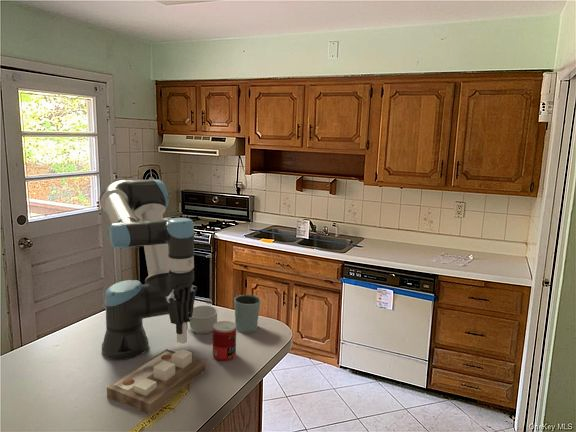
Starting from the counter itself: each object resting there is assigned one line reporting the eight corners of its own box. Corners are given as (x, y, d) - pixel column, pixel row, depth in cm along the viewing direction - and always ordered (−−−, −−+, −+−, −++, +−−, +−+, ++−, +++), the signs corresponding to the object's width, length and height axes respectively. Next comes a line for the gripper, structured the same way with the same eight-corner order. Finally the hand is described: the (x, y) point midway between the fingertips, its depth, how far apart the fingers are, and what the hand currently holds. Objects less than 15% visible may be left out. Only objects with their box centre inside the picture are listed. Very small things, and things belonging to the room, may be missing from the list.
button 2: (171, 367, 134) (171, 355, 133) (180, 361, 138) (180, 348, 137) (182, 371, 132) (182, 358, 131) (191, 365, 136) (191, 352, 135)
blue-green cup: (229, 325, 169) (229, 297, 167) (251, 320, 175) (252, 292, 172) (241, 336, 161) (242, 306, 158) (264, 330, 167) (265, 301, 164)
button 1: (133, 399, 120) (133, 385, 119) (145, 391, 124) (144, 377, 123) (145, 404, 118) (145, 389, 118) (156, 395, 122) (156, 381, 121)
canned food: (231, 362, 142) (232, 332, 140) (208, 359, 144) (209, 328, 141) (238, 351, 149) (239, 322, 147) (217, 348, 151) (217, 319, 149)
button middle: (153, 380, 127) (153, 367, 126) (163, 373, 131) (163, 360, 130) (165, 384, 125) (165, 371, 124) (175, 377, 129) (175, 364, 128)
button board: (107, 396, 121) (106, 386, 121) (166, 357, 144) (166, 348, 143) (150, 414, 115) (150, 403, 114) (205, 369, 137) (205, 360, 136)
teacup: (223, 329, 166) (223, 309, 164) (203, 339, 157) (203, 319, 155) (196, 319, 173) (196, 301, 172) (176, 329, 164) (176, 309, 163)
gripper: (177, 277, 122) (177, 353, 126) (204, 265, 133) (204, 336, 138) (156, 273, 125) (158, 347, 129) (185, 262, 136) (185, 331, 141)
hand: (181, 341), depth 133 cm, fingers closed
